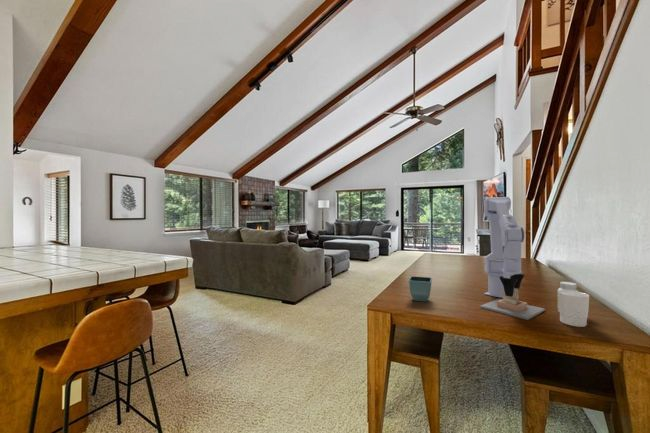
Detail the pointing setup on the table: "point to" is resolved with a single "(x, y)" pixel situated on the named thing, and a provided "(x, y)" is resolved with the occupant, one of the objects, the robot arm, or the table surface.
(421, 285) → the flower pot
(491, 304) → the holder
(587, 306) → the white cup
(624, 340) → the table surface
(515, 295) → the peg
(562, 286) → the pill bottle
